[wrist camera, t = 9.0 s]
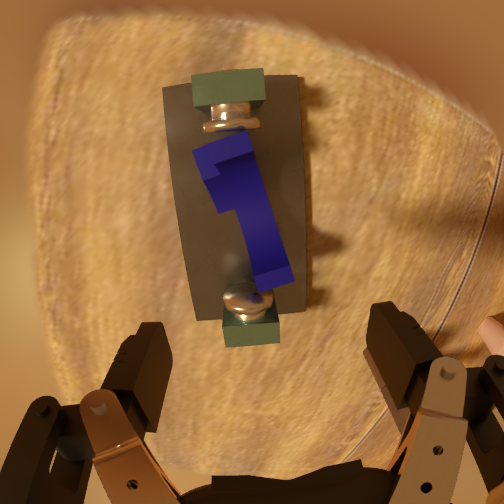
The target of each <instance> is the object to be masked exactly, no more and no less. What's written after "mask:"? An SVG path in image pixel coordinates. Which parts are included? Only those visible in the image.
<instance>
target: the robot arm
mask: <svg viewBox="0 0 504 504" xmlns="http://www.w3.org/2000/svg"><path fill="white" fill-rule="evenodd" d="M366 344H367V348H368V351H369V353H370V355H371V356H372V358H373V360H374V362H375V364H376V366H377V368H378V370H379V372H380V374H381V377H382V379H383V381H384V383H385V385H386V387H387V389H388V391H389V393H390V395H391V397H392V399H393V401H394V404H395V406H396V408H397V410H399V409H403V408H406V407H408V408H409V410H410V413H409V415H408V418H407V421H406V424H405V427H404V429H403V432H402V435H401V438H400V440H399V443H398V446H397V448H396V451H395V453H394V455H393V458H392V460H391V461H390V463H389V465H388V467H387V469H386V470H384V469H378V468H370V467H363V466H362V462H361V459H359V460H355V461H351V462H346V463H342V464H337V465H332V466H326V467H324V468H321V469H319V470H316V471H314V472H311V473H308V474H306V475H303V476H300V477H297V478H294V479H291V480H280V479H272V478H264V477H257V476H251V475H240V476H212V483H211V484H209V485H204V486H201V487H198V488H195V489H193V490H190V491H188V492H187V493H185V494H183V495H181V494H180V493H179V491H178V490H177V489H176V487H175V486H174V485H173V484H172V482H171V481H170V480H169V478H168V477H167V475H166V474H165V472H164V471H163V469H162V468H161V466H160V465H159V463H158V462H157V460H156V459H155V457H154V456H153V454H152V452H151V451H150V449H149V448H148V446H147V444H146V443H145V441H144V436H145V432H153V433H156V431H157V427H158V423H159V418H160V414H161V410H162V406H163V401H164V397H165V393H166V389H167V385H168V381H169V377H170V373H171V369H172V363H173V360H172V352H171V349H170V346H169V343H168V339H167V336H166V333H165V329H164V326H163V324H162V322H142V323H141V325H140V327H139V329H138V331H137V333H136V335H130V336H129V337H128V338H127V339H126V340H125V341H124V342H123V343H122V344H121V346H120V348H119V350H118V352H117V354H116V356H115V358H114V362H112V365H111V367H110V369H109V371H108V373H107V375H106V377H105V379H104V382H103V384H102V386H101V388H100V389H98V390H94V391H92V392H90V393H88V394H87V395H86V396H85V397H84V398H83V399H82V401H81V403H80V404H75V405H67V406H61V405H60V404H59V403H58V401H57V400H56V399H55V398H54V397H51V396H42V397H39V398H38V399H36V400H35V401H33V402H32V403H31V405H30V406H29V408H28V410H27V413H26V414H25V416H24V418H23V420H22V422H21V424H20V427H19V429H18V431H17V433H16V435H15V438H14V440H13V442H12V444H11V447H10V449H9V452H8V454H7V457H6V459H5V461H4V464H3V466H2V469H1V472H0V504H84V499H85V494H86V490H87V485H88V480H89V477H90V473H91V469H92V465H93V464H94V467H95V469H96V471H97V474H98V476H99V478H100V480H101V482H102V485H103V487H104V489H105V491H106V493H107V495H108V497H109V499H110V501H111V503H112V504H452V503H450V501H451V497H452V494H453V491H454V487H455V483H456V480H457V476H458V472H459V468H460V464H461V460H462V455H463V450H464V445H465V440H467V442H468V445H469V447H470V449H471V451H472V453H473V456H474V458H475V460H476V463H477V465H478V467H479V470H480V473H481V475H482V478H483V480H484V483H485V485H486V488H487V491H488V493H489V494H488V496H487V499H486V504H504V432H503V430H502V428H501V426H500V424H499V423H498V421H497V419H496V417H495V415H494V414H493V412H492V410H493V409H494V407H495V406H496V408H497V409H498V411H499V413H500V414H501V416H502V418H503V419H504V356H502V355H491V356H489V357H488V358H487V359H486V361H485V363H484V365H483V367H474V368H465V366H464V365H463V364H462V363H461V362H460V361H459V360H457V359H455V358H452V357H443V355H442V354H441V353H440V351H439V350H438V349H437V347H436V346H435V345H434V343H433V342H432V341H431V339H430V338H429V337H428V335H427V334H425V332H424V330H423V329H422V328H420V325H419V324H418V323H417V321H416V320H415V319H414V318H413V317H412V316H410V315H409V314H407V313H405V312H404V311H403V312H400V311H399V310H398V309H397V307H396V306H395V305H394V303H393V302H392V301H387V302H381V303H374V304H372V306H371V309H370V316H369V322H368V328H367V334H366ZM55 449H56V450H57V454H56V457H55V460H54V463H53V466H52V469H51V472H49V468H50V464H51V461H52V458H53V455H54V452H55Z"/></svg>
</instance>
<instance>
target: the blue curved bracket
mask: <svg viewBox="0 0 504 504" xmlns="http://www.w3.org/2000/svg"><path fill="white" fill-rule="evenodd" d="M192 153H193V156H194V158H195V161H196V164H197V167H198V169H199V172H200V175H201V177H202V180H203V182H204V184H205V186H206V187H207V189H208V191H209V193H210V195H211V198H212V200H213V202H214V204H215V207H216V209H217V212H218V214H221V213H224V212H227V211H229V210H232V209H235V211H236V214H237V217H238V220H239V223H240V226H241V229H242V232H243V236H244V239H245V242H246V246H247V250H248V253H249V258H250V262H251V267H252V272H253V278H254V281H255V283H256V286H257V289H258V291H259V292H263V291H266V290H269V289H272V288H276V287H279V286H282V285H285V284H288V283H292V282H295V279H294V276H293V273H292V269H291V266H290V263H289V260H288V257H287V254H286V252H285V249H284V246H283V243H282V240H281V237H280V234H279V231H278V228H277V225H276V221H275V218H274V215H273V212H272V209H271V206H270V203H269V200H268V197H267V194H266V191H265V188H264V184H263V181H262V178H261V175H260V172H259V169H258V165H257V162H256V159H255V155H254V150H253V147H252V144H251V141H250V138H249V135H248V132H247V130H246V131H243V132H240V133H237V134H234V135H231V136H228V137H225V138H222V139H220V140H217V141H214V142H211V143H208V144H206V145H205V146H202V147H200V148H197V149H194V150H192Z"/></svg>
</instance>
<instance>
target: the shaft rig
mask: <svg viewBox="0 0 504 504" xmlns="http://www.w3.org/2000/svg"><path fill="white" fill-rule="evenodd" d="M191 79H192V83H187V84H180V85H175V86H169V87H164V88H162V90H163V103H164V114H165V125H166V135H167V144H168V153H169V162H170V170H171V177H172V185H173V192H174V199H175V206H176V212H177V219H178V225H179V231H180V237H181V243H182V249H183V255H184V260H185V266H186V271H187V276H188V281H189V286H190V291H191V296H192V301H193V306H194V311H195V315H196V320H197V321H201V320H217V319H223V324H222V329H223V334H224V340H225V346H226V347H239V346H252V345H263V344H274V343H280V325H279V318H278V314H287V313H296V312H305V311H306V207H305V179H304V158H303V141H302V126H301V112H300V100H299V88H298V77H297V75H267V76H264V72H263V68H257V69H242V70H238V69H231V70H222V71H217V72H212V73H204V74H196V75H191ZM246 130H247V132H248V135H249V138H250V141H251V144H252V147H253V150H254V155H255V159H256V162H257V165H258V169H259V172H260V175H261V178H262V181H263V184H264V188H265V191H266V194H267V197H268V200H269V203H270V206H271V209H272V212H273V215H274V218H275V221H276V225H277V228H278V231H279V234H280V237H281V240H282V243H283V246H284V249H285V252H286V254H287V257H288V260H289V263H290V266H291V269H292V273H293V276H294V279H295V282H292V283H288V284H285V285H282V286H279V287H276V288H272V289H269V290H266V291H263V292H259V291H258V289H257V286H256V283H255V281H254V278H253V272H252V267H251V262H250V258H249V253H248V250H247V246H246V242H245V239H244V236H243V232H242V229H241V226H240V223H239V220H238V217H237V214H236V211H235V209H232V210H229V211H227V212H224V213H221V214H218V212H217V209H216V207H215V204H214V202H213V200H212V198H211V195H210V193H209V191H208V189H207V187H206V186H205V184H204V182H203V180H202V177H201V175H200V172H199V169H198V167H197V164H196V161H195V158H194V156H193V153H192V150H194V149H197V148H200V147H202V146H205V145H206V144H208V143H211V142H214V141H217V140H220V139H222V138H225V137H228V136H231V135H234V134H237V133H240V132H243V131H246Z"/></svg>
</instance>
